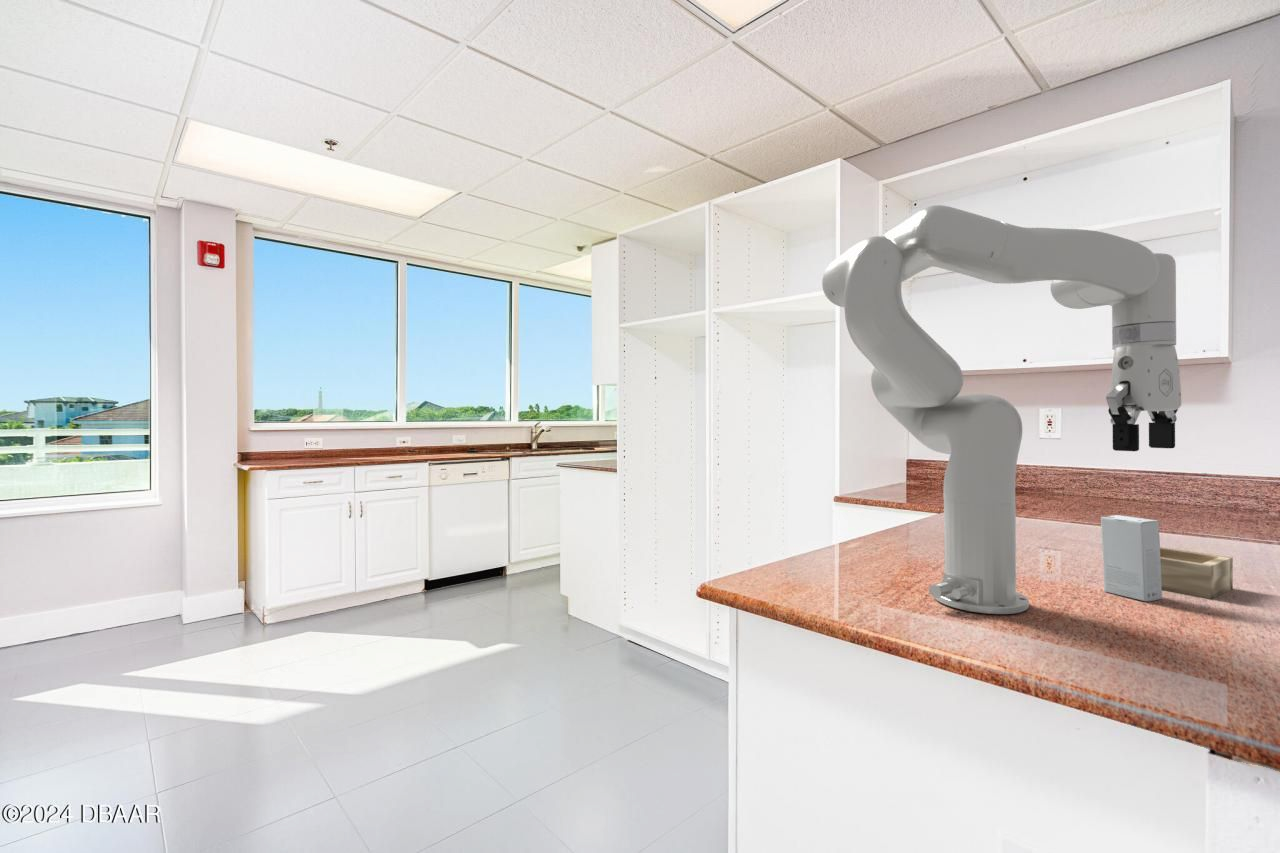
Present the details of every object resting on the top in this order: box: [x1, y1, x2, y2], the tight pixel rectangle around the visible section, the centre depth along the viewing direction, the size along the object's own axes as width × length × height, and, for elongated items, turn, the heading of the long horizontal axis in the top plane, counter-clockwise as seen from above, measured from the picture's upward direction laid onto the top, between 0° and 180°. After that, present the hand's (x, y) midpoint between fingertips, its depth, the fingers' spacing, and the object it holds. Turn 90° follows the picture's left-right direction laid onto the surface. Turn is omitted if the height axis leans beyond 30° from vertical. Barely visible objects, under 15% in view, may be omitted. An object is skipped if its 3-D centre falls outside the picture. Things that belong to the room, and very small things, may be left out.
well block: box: [1160, 546, 1234, 600], centre depth 98 cm, size 10×10×5 cm
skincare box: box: [1100, 514, 1163, 602], centre depth 93 cm, size 6×4×12 cm
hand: (1144, 449), depth 92 cm, fingers open, 9 cm apart
